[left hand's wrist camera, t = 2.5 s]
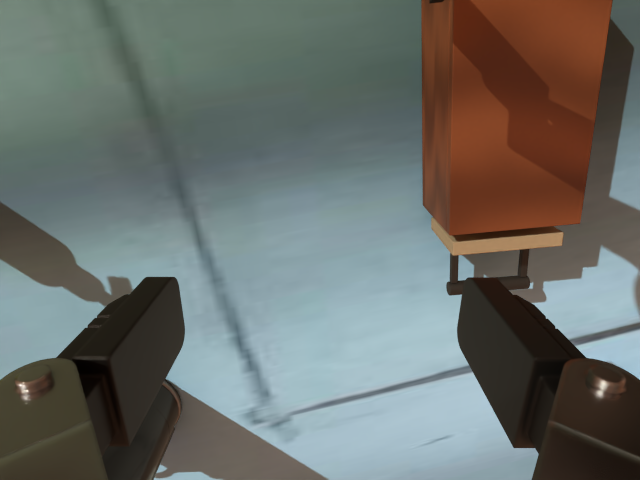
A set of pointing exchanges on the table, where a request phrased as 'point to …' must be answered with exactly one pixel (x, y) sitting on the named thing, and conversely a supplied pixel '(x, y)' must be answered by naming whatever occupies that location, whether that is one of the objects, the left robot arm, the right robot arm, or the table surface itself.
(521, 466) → the table surface
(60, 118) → the table surface
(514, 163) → the cabinet
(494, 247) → the drawer
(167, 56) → the table surface
